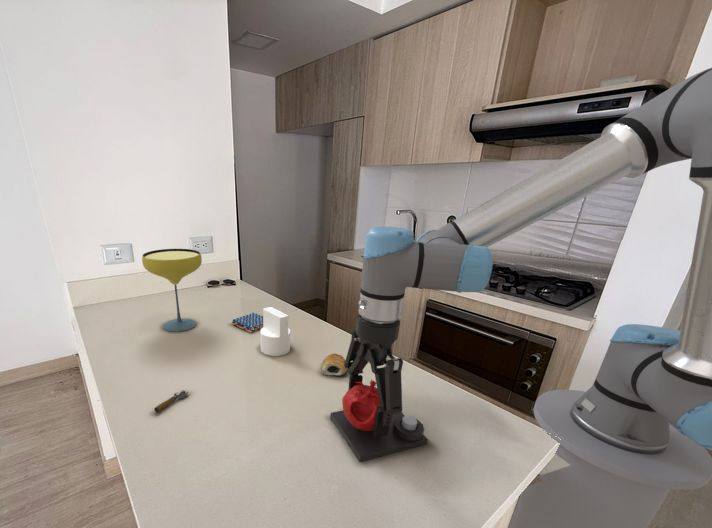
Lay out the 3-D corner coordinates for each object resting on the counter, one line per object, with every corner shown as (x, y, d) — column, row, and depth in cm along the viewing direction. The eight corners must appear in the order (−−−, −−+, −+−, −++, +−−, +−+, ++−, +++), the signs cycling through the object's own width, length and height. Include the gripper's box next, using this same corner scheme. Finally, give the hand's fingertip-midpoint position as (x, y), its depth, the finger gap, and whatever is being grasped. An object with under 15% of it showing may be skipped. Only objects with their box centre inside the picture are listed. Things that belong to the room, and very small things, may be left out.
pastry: (324, 358, 99) (325, 346, 97) (347, 361, 98) (349, 349, 96) (320, 375, 90) (321, 362, 89) (345, 378, 89) (347, 366, 88)
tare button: (410, 420, 70) (411, 414, 69) (418, 429, 68) (420, 423, 67) (398, 423, 69) (399, 417, 69) (407, 432, 67) (408, 426, 66)
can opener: (157, 413, 74) (156, 408, 74) (151, 409, 75) (150, 404, 75) (190, 394, 81) (190, 390, 81) (184, 390, 82) (184, 386, 82)
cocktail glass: (156, 317, 125) (147, 248, 115) (207, 314, 128) (202, 248, 119) (147, 338, 108) (135, 260, 99) (205, 334, 112) (199, 259, 102)
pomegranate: (336, 406, 74) (340, 368, 70) (382, 405, 74) (387, 368, 71) (346, 438, 65) (350, 397, 61) (397, 437, 65) (405, 396, 62)
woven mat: (230, 324, 120) (229, 319, 119) (252, 316, 127) (252, 311, 126) (249, 333, 113) (249, 327, 113) (272, 324, 121) (272, 319, 120)
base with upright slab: (254, 347, 104) (254, 310, 100) (278, 339, 110) (278, 304, 105) (271, 358, 98) (271, 320, 93) (296, 350, 103) (297, 313, 99)
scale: (390, 405, 79) (392, 394, 78) (428, 444, 68) (430, 431, 66) (330, 417, 74) (331, 406, 73) (359, 461, 63) (361, 449, 62)
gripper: (333, 298, 70) (326, 390, 78) (398, 347, 50) (380, 463, 58) (365, 295, 72) (355, 384, 80) (440, 340, 52) (416, 453, 61)
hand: (365, 417), depth 69 cm, fingers closed on pomegranate, 10 cm apart
